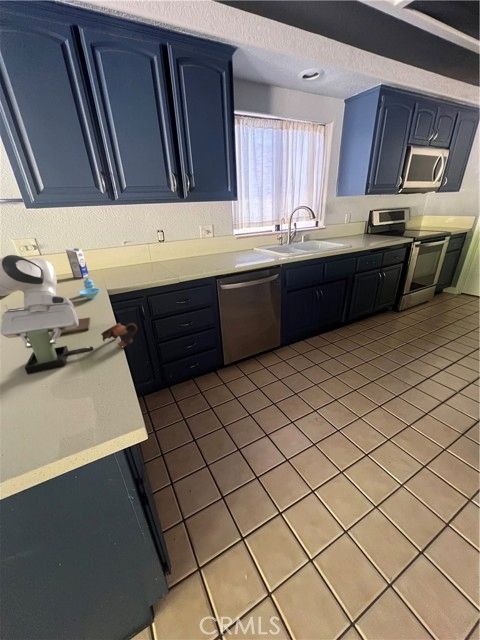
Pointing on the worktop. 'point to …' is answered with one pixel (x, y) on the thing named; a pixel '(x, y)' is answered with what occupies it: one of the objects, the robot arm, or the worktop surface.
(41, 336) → the pale green cylinder
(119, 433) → the worktop surface
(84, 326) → the board
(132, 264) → the worktop surface
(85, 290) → the blue conch shell
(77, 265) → the milk carton
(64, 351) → the pan
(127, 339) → the brown irregular piece
